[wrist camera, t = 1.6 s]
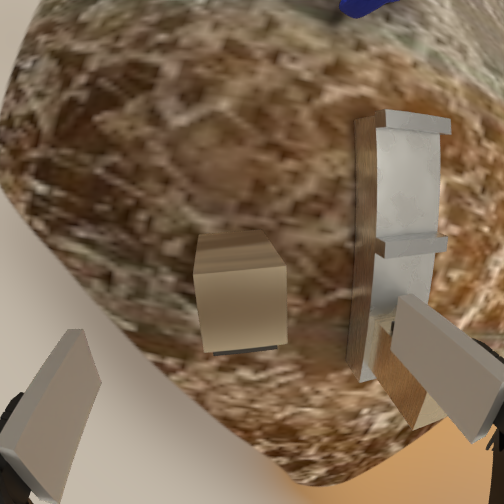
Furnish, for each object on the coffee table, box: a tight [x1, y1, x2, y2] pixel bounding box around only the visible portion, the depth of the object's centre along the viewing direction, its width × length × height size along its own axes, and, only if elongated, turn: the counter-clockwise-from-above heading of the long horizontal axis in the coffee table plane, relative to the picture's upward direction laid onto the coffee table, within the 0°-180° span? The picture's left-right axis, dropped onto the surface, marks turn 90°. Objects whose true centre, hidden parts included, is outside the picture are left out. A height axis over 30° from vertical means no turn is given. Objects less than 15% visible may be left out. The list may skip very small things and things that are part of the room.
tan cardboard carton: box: [193, 229, 287, 356], centre depth 18 cm, size 5×4×7 cm
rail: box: [346, 109, 451, 430], centre depth 17 cm, size 19×5×10 cm, turn 3°
